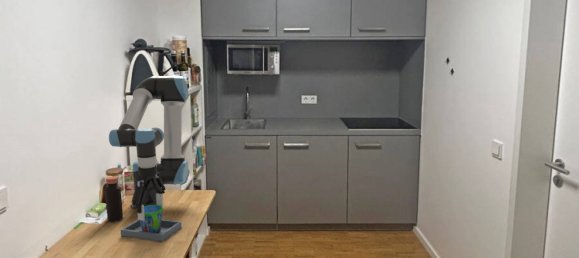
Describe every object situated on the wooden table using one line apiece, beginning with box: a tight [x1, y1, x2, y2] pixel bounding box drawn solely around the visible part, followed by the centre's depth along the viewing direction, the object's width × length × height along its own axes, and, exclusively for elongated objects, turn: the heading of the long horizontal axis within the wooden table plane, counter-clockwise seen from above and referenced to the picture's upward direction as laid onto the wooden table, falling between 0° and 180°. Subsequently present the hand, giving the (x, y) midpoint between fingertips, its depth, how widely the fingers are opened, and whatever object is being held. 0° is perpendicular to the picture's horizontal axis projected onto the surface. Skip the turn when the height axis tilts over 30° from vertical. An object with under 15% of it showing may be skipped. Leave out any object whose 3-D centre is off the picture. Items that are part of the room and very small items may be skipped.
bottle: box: [104, 175, 124, 223], centre depth 207 cm, size 7×7×20 cm
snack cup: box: [136, 205, 164, 233], centre depth 192 cm, size 16×10×10 cm
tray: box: [120, 218, 183, 243], centre depth 193 cm, size 15×20×3 cm
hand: (151, 213), depth 193 cm, fingers open, 13 cm apart
